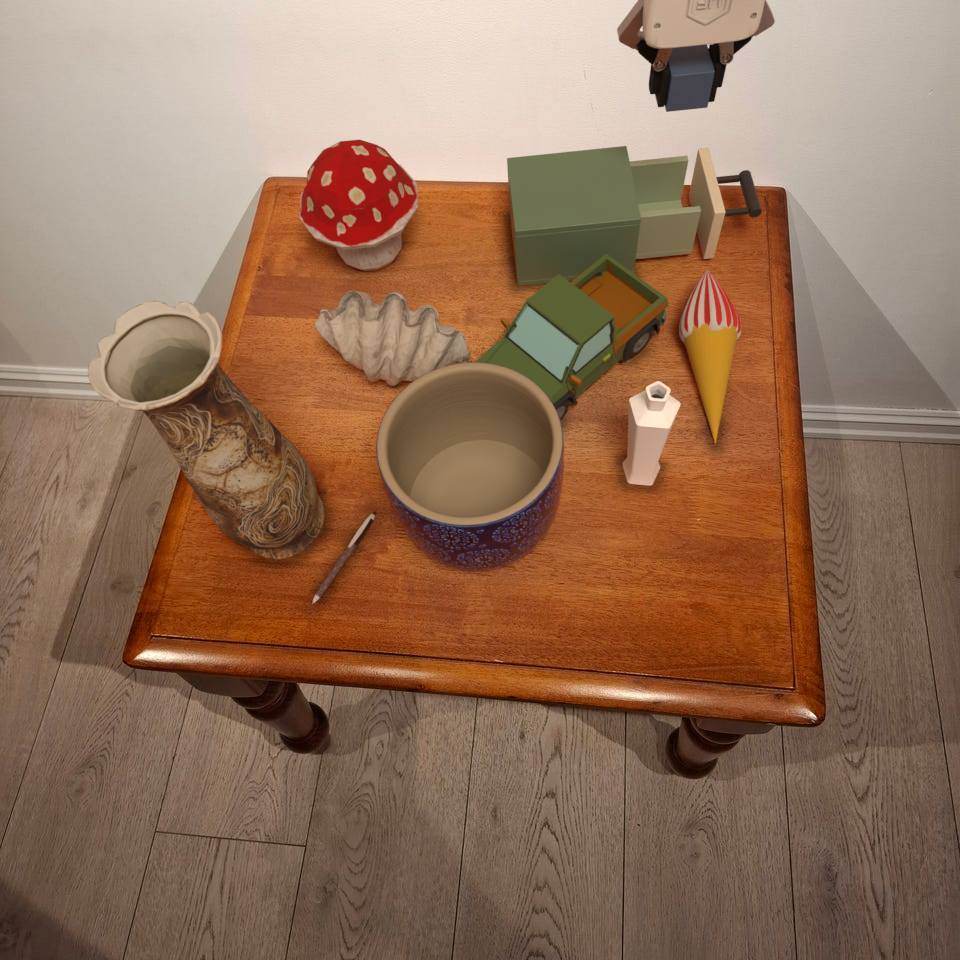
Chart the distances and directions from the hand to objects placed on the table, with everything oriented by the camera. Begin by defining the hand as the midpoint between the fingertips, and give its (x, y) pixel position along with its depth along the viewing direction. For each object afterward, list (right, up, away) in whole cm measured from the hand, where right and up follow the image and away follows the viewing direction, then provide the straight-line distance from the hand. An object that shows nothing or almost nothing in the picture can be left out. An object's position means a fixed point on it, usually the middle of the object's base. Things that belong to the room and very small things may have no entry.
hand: (683, 93), depth 82 cm
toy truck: (-10, -25, +12) cm, 29 cm away
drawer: (+3, -8, +18) cm, 20 cm away
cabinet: (-9, -9, +19) cm, 23 cm away
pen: (-33, -46, +3) cm, 57 cm away
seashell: (-29, -25, +13) cm, 40 cm away
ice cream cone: (+5, -25, +10) cm, 28 cm away
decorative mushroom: (-33, -10, +21) cm, 40 cm away
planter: (-20, -41, +4) cm, 46 cm away
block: (0, 0, 0) cm, 0 cm away
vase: (-41, -42, +6) cm, 59 cm away
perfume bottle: (-3, -37, +5) cm, 37 cm away
